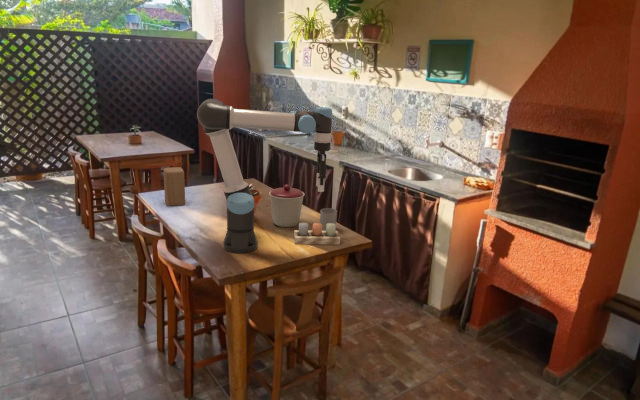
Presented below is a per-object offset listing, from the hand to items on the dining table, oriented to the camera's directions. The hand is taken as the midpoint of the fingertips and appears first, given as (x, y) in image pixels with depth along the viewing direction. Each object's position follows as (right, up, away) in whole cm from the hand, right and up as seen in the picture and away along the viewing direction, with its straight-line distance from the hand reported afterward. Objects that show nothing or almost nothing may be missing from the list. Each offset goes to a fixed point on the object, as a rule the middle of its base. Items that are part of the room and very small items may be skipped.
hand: (319, 188), depth 214 cm
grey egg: (-8, -21, -2) cm, 23 cm away
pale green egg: (+5, -22, 0) cm, 22 cm away
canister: (-18, -18, +19) cm, 32 cm away
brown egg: (-1, -22, -1) cm, 22 cm away
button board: (-2, -24, 0) cm, 24 cm away
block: (-82, -7, +42) cm, 93 cm away
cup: (+4, -20, +15) cm, 26 cm away
